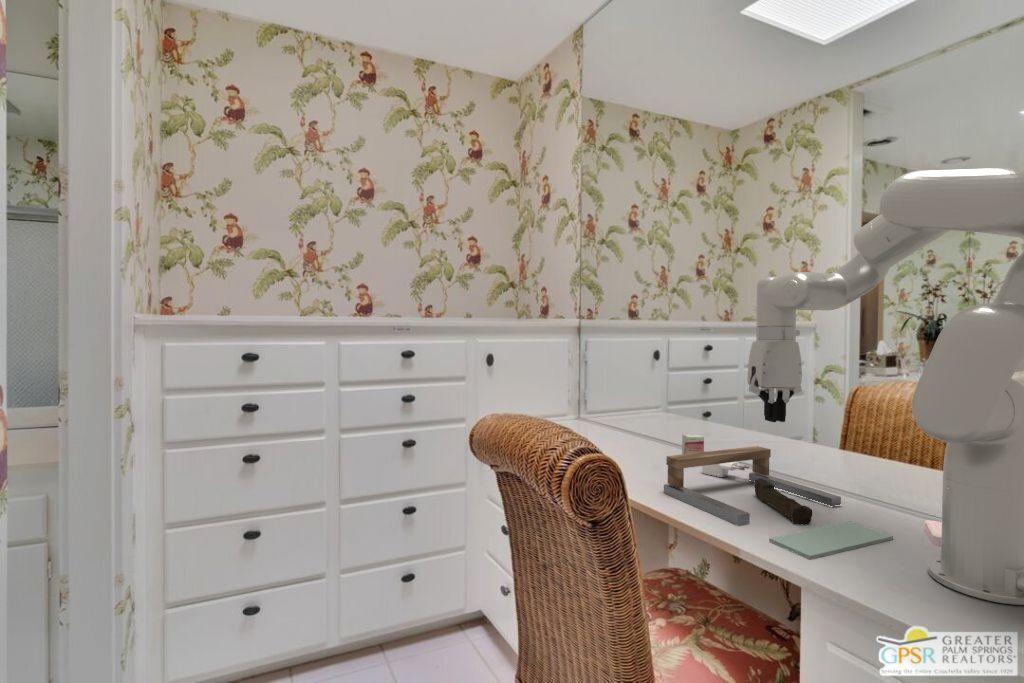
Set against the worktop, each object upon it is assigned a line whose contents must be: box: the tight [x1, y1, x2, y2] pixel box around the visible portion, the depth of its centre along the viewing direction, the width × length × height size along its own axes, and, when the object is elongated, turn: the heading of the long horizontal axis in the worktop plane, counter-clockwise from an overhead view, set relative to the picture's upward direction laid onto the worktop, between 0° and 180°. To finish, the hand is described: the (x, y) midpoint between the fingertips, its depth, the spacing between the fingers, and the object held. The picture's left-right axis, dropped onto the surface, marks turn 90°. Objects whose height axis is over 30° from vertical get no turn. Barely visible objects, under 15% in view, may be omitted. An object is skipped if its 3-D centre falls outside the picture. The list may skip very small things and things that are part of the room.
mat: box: [768, 521, 894, 560], centre depth 95 cm, size 8×22×1 cm, turn 113°
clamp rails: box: [663, 472, 842, 526], centre depth 118 cm, size 22×30×2 cm
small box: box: [681, 433, 705, 455], centre depth 151 cm, size 5×4×8 cm
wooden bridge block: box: [666, 445, 772, 488], centre depth 126 cm, size 4×29×6 cm, turn 113°
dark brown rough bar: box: [753, 478, 813, 526], centre depth 112 cm, size 19×4×5 cm, turn 179°
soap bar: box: [924, 519, 942, 548], centre depth 95 cm, size 5×9×2 cm, turn 150°
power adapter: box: [701, 450, 750, 478], centre depth 136 cm, size 11×5×6 cm, turn 43°
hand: (774, 420), depth 112 cm, fingers closed
